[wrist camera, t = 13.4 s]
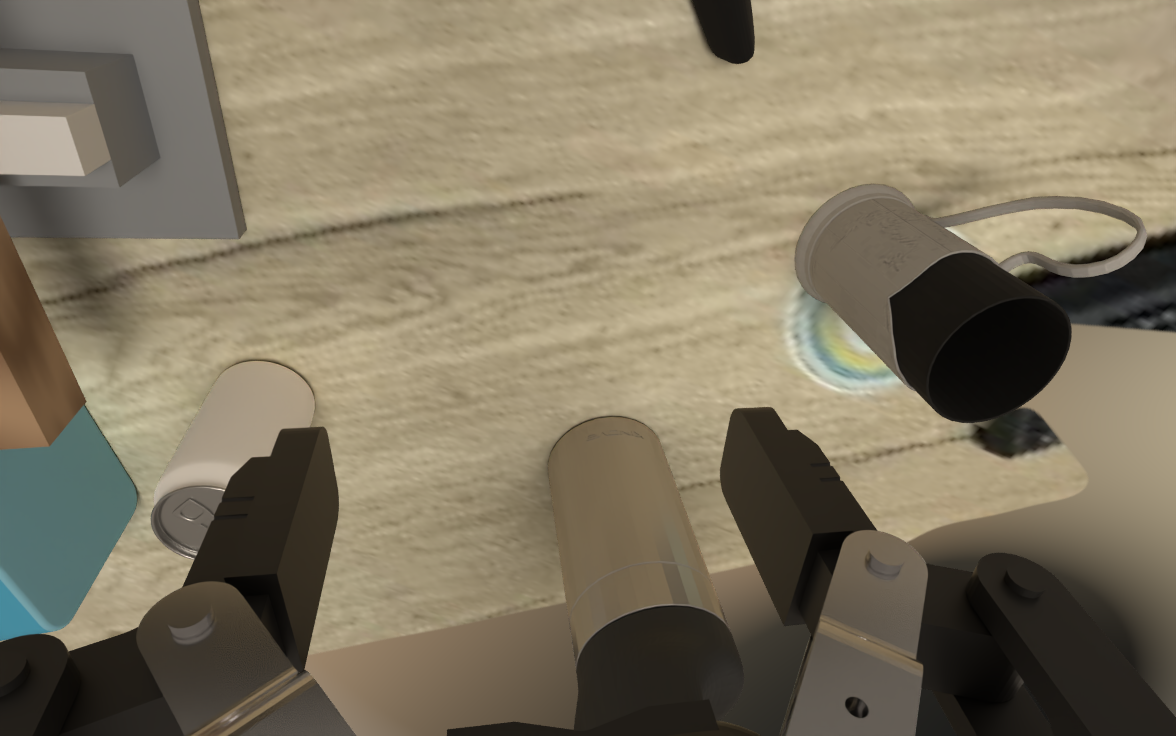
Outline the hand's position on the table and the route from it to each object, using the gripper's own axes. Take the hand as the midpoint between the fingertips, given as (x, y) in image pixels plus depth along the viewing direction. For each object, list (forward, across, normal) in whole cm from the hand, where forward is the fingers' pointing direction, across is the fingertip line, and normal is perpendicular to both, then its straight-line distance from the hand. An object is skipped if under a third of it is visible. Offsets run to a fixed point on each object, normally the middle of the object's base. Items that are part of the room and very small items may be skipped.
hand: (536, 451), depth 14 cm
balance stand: (+30, +23, -1) cm, 38 cm away
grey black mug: (+30, -27, +6) cm, 41 cm away
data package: (+30, +29, +21) cm, 47 cm away
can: (+30, +16, +18) cm, 39 cm away
